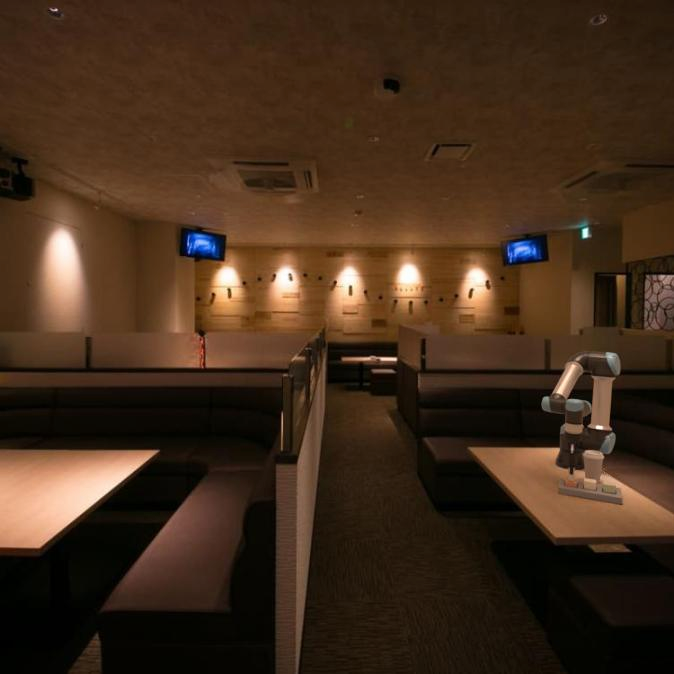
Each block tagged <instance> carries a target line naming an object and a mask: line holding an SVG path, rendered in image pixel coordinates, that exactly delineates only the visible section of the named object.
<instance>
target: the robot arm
mask: <svg viewBox="0 0 674 674" xmlns="http://www.w3.org/2000/svg"><path fill="white" fill-rule="evenodd" d="M584 373H591V375H590V376H591V378H592V379H593V390H592V402H591V403H592V404H591V403H590V402H589V401H587V400H584V399H583V400H581V399H577V398H576V399H575V398H570V399H568V398H569V396H570V393H571V392H572V390H573V388H574V386H575V384H576V382H577V381H578V379H579V377H580V376H582V375H583V374H584ZM620 374H621V360H620V358H619V355H618V354H617V353H615V352H609V351H595V350H594V351H591V350H584V351H581V352H578V353H576V354H574V355H572V356H571V357H570V358H569V359H568V360H567V362H566V363H565V365H564V371H563V372H562V374H561V376H560V378H559V380H558V382H557V384H556V385H555V387H554V390H553V391H552V393H551V394H550V396H544V397H543V398H542V401H541V409H542V410H543V411H544V412H549V413H553V414H554V413H555V414H560V415H561V414H562V415H565V417H564V424H563V425H561V426H560V432H559V451H558V454H557V456H556V458H555V465H556V466H558V467H560V468H563V469H567V470H568V471H567V472H568V473H567V479H568V480H569V481H574V480H575V476H576V475H575V473H576V472H575V471H579V470H580V471H581V470H585V467H584V456H583V454H584V451H586V450H594V451H599V452H601V453H602V454H603V455H609V454H611V452H612V451H613V449H614V447H615V443H616V438H617V437H616V434H615V433H614V432H613V428H612V427H611V426H610V419H611V418H610V417H611V416H610V415H611V404H612V388H613V381H614V380H616V378H617V376H619V375H620ZM590 414H591V418H590V419H591V420H590V424H588V425H587V428H585V426H584V425H583V424H584V423H583V421H584V417H587V416H588V415H590Z"/></svg>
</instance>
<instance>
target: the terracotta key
mask: <svg viewBox="0 0 674 674" xmlns="http://www.w3.org/2000/svg"><path fill="white" fill-rule="evenodd" d="M565 479H566V480H565V486H570V487H576V488H577V481H578V480H577V479H574V481H569V480H568V477H567V478H566V477H565Z"/></svg>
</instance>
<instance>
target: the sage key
mask: <svg viewBox="0 0 674 674" xmlns="http://www.w3.org/2000/svg"><path fill="white" fill-rule="evenodd" d="M602 481H603V482H602V485H603V492H608V493H614V494H616V488H617V484H616V482H611V481H608V480H607V481H606V480H602Z"/></svg>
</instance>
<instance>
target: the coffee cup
mask: <svg viewBox="0 0 674 674" xmlns="http://www.w3.org/2000/svg"><path fill="white" fill-rule="evenodd" d="M583 456H584V467H585V469H584V478H588V479H595V480H596V484H598V485H599V484H600V483H601V475H602V474H601V473H602V467H603V463H604V462H603V461H604V459H605V456H604V454H603V453H601V452H599V451H594V450H584V451H583Z"/></svg>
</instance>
